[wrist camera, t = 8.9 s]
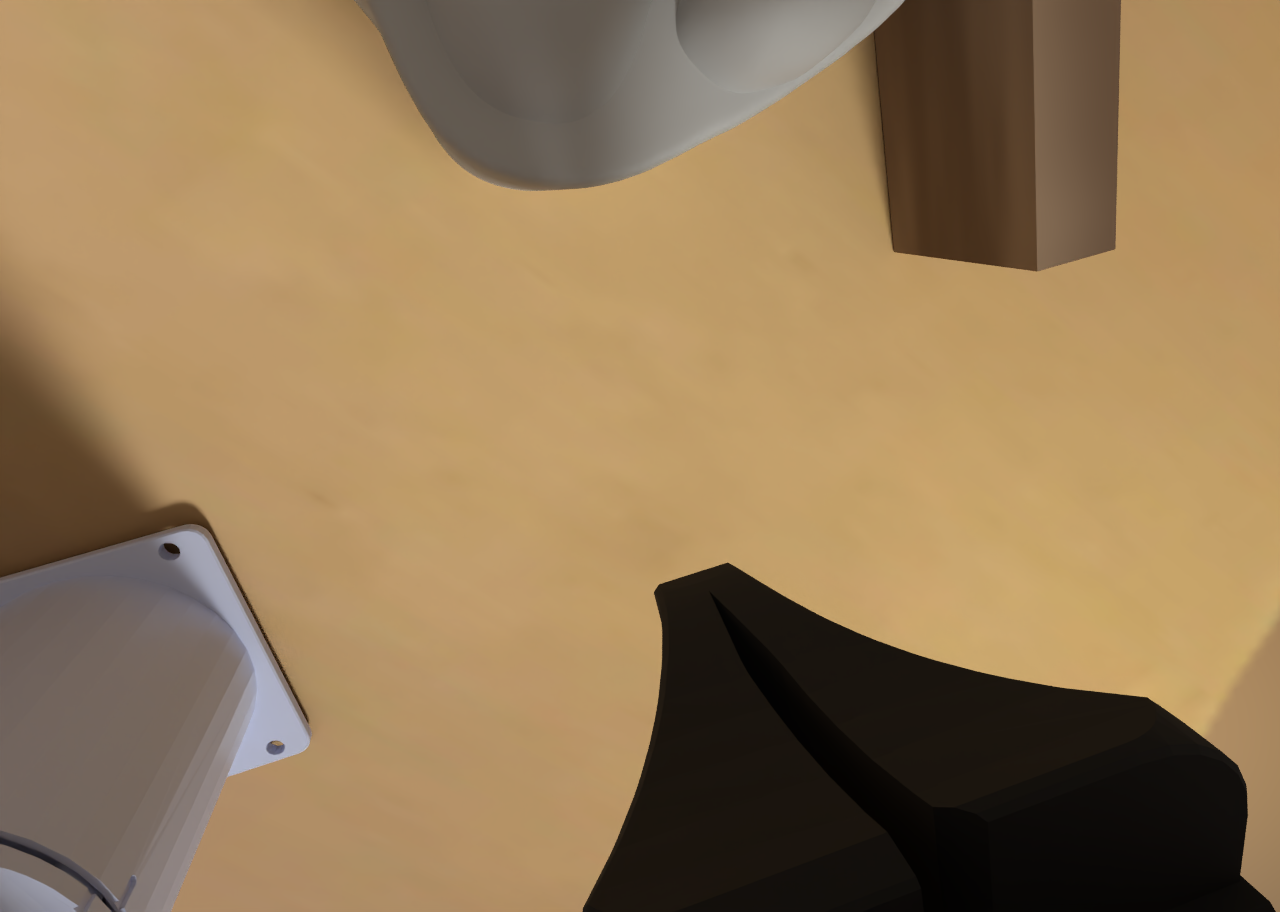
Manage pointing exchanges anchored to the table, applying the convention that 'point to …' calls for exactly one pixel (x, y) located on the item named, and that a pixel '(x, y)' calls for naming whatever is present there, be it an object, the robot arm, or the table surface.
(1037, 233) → the walnut board
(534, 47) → the lumpy-topped squat cylinder
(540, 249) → the table surface
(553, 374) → the table surface
